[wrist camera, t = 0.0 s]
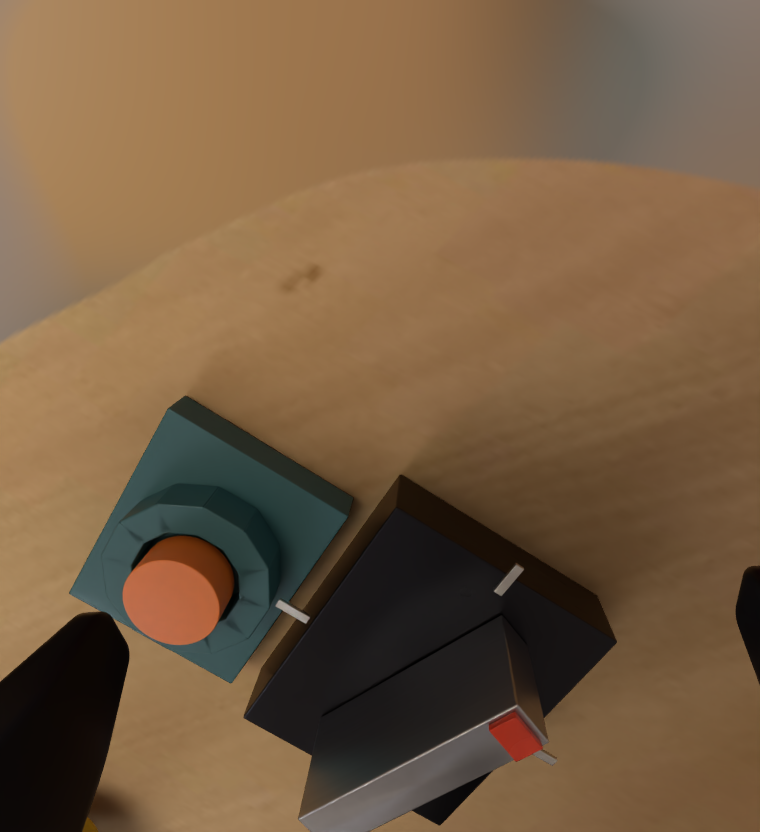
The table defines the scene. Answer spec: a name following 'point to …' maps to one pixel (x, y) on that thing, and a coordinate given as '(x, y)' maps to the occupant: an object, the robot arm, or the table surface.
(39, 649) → the robot arm
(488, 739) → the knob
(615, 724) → the table surface
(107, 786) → the table surface
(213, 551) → the button
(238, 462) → the control block
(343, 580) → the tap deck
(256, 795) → the table surface
